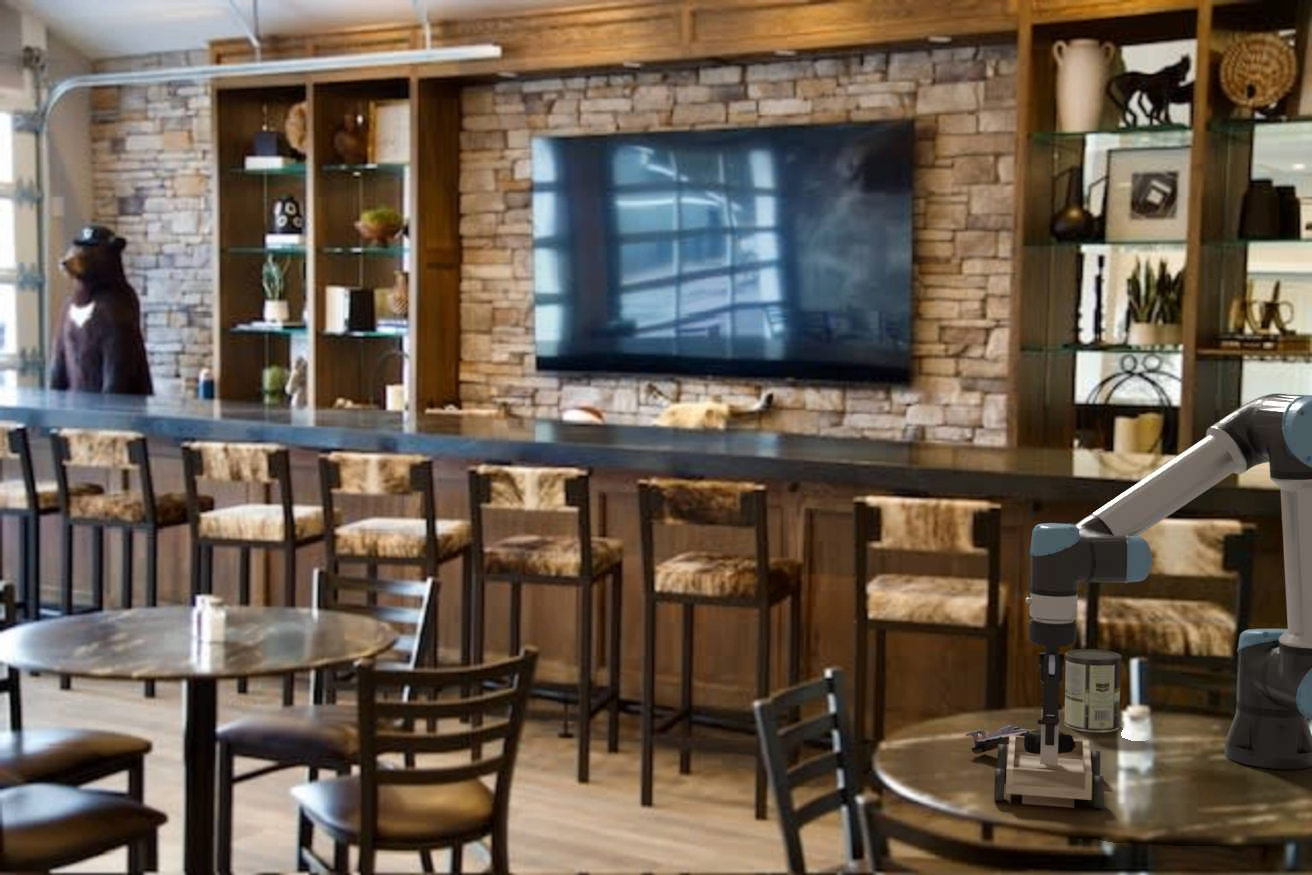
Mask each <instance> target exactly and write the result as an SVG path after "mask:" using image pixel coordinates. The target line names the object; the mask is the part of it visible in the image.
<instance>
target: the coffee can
mask: <svg viewBox="0 0 1312 875" xmlns="http://www.w3.org/2000/svg"><path fill="white" fill-rule="evenodd" d="M1064 658H1065V681H1064V682H1065V684H1064V685H1065V687H1064V688H1065V690H1064V691H1065V694H1064V697H1065V698H1064V726H1065V727H1068V728H1070V729H1072V730H1076V731H1080V732H1088V733H1110V732H1115V731H1117V730H1119V729H1120V705H1121V704H1120V702H1121V701H1120V699H1121V671H1122V670H1121V666H1122V664H1121V662H1122V658H1123V657H1122V654H1120V653H1118V652H1114V651H1109V650H1105V649H1104V650H1102V649H1086V648H1085V649H1073V650H1072V649H1071V650H1068V651H1066V652H1065V653H1064Z"/></svg>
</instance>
